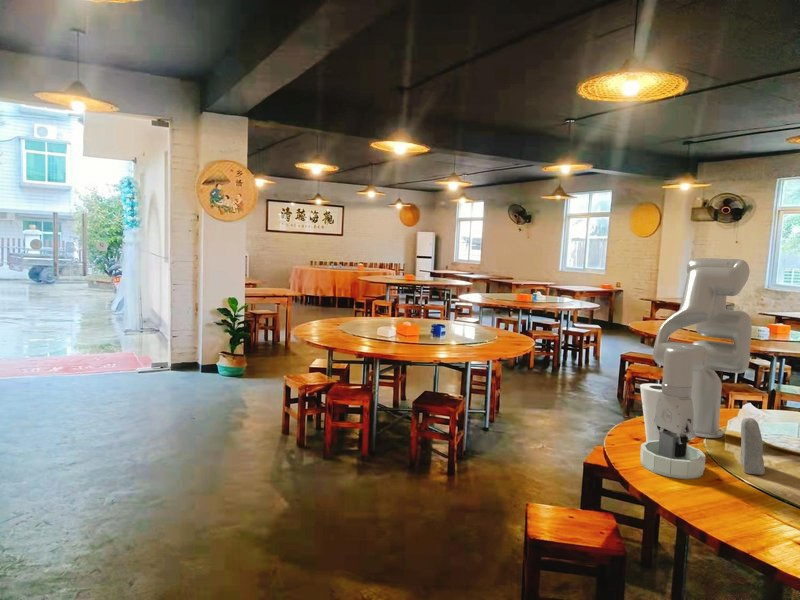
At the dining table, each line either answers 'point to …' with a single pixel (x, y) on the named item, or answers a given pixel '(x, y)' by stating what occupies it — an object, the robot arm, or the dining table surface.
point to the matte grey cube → (668, 445)
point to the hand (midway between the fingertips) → (672, 452)
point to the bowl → (672, 462)
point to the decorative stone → (751, 447)
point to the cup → (650, 409)
